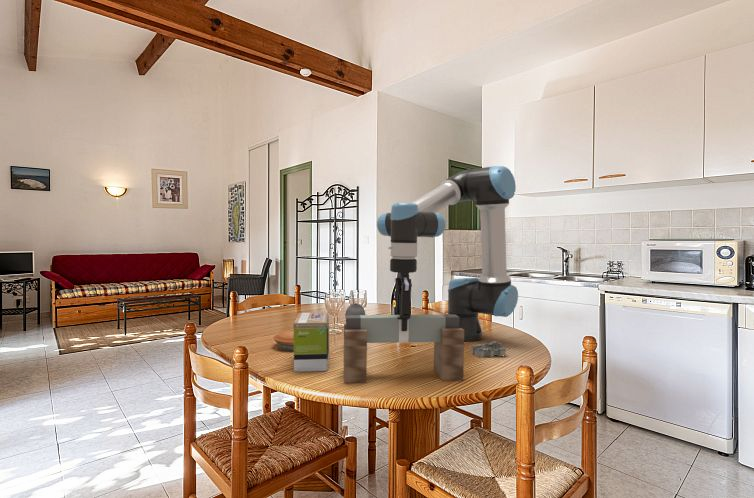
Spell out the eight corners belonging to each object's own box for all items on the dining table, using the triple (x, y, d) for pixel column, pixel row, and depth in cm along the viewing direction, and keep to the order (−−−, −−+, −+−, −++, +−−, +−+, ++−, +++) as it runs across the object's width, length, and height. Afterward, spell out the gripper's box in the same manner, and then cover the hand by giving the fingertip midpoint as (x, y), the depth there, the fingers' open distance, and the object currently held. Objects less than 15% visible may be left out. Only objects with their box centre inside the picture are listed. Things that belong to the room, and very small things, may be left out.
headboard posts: (453, 368, 125) (454, 322, 124) (463, 380, 115) (464, 330, 114) (343, 370, 121) (344, 323, 121) (344, 382, 112) (344, 331, 111)
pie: (263, 348, 143) (263, 334, 143) (292, 338, 157) (292, 325, 157) (298, 355, 136) (298, 340, 136) (326, 344, 150) (326, 330, 150)
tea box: (298, 356, 135) (298, 311, 134) (329, 356, 135) (329, 311, 135) (292, 372, 120) (293, 321, 119) (327, 371, 120) (328, 321, 120)
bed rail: (454, 338, 121) (455, 314, 121) (458, 341, 117) (459, 317, 117) (345, 339, 118) (345, 315, 118) (345, 343, 114) (346, 318, 114)
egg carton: (500, 352, 144) (500, 340, 144) (507, 358, 136) (508, 346, 136) (469, 351, 143) (470, 340, 143) (475, 358, 136) (476, 345, 136)
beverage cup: (362, 351, 141) (363, 293, 141) (342, 349, 143) (342, 292, 142) (367, 345, 149) (368, 290, 148) (347, 344, 150) (348, 289, 149)
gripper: (386, 256, 125) (385, 332, 126) (394, 259, 108) (393, 348, 109) (411, 256, 126) (409, 332, 127) (422, 260, 109) (421, 348, 110)
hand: (402, 339), depth 118 cm, fingers closed on bed rail, 4 cm apart
